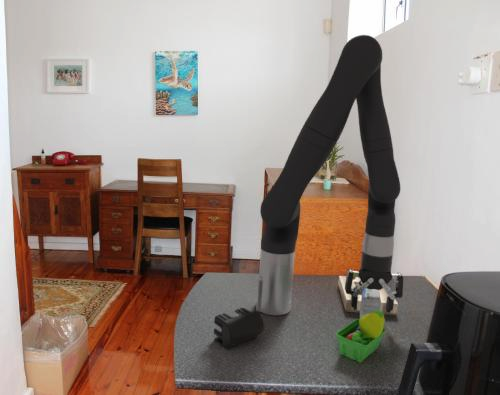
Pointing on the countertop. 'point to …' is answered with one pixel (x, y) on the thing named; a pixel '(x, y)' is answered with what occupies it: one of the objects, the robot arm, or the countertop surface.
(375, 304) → the medicine box
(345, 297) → the thick beige rectangular frame
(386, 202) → the robot arm
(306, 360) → the countertop surface
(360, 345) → the fruit basket
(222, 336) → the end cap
